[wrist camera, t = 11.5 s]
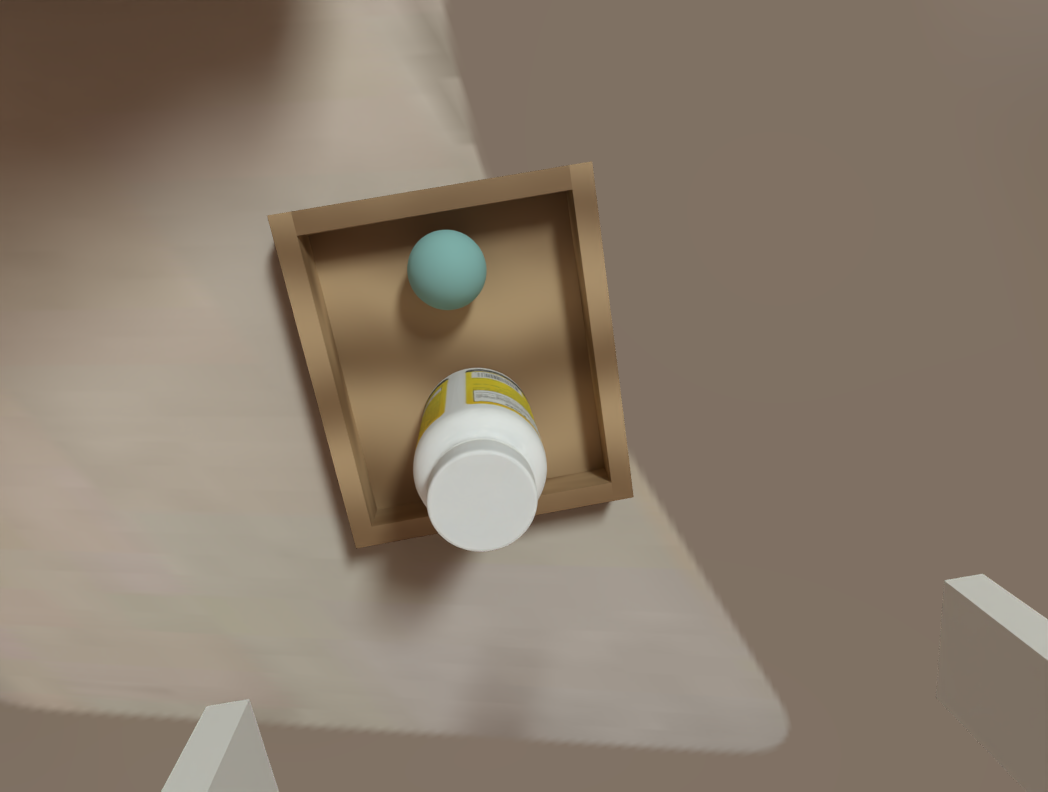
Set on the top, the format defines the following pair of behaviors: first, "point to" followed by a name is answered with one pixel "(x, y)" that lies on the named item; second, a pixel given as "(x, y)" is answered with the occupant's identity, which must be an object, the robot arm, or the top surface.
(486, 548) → the supplement bottle
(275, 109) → the top surface
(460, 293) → the ball
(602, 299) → the tray
